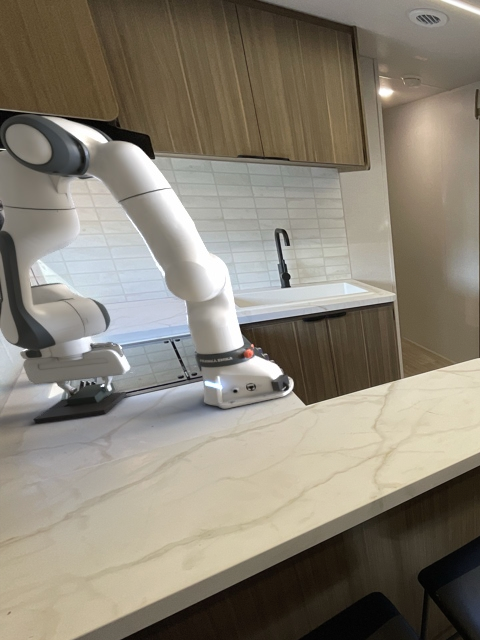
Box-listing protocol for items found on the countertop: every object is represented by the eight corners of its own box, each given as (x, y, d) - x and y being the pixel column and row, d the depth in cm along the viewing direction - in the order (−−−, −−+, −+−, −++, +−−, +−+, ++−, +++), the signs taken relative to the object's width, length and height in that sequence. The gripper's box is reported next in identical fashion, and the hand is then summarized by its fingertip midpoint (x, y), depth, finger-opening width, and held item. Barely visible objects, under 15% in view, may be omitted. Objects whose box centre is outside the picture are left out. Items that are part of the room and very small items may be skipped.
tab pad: (115, 389, 117) (112, 382, 116) (97, 404, 108) (94, 396, 108) (89, 393, 115) (85, 385, 114) (69, 407, 107) (65, 399, 106)
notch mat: (126, 395, 115) (125, 391, 114) (105, 413, 104) (103, 409, 104) (63, 403, 110) (62, 399, 110) (35, 423, 100) (33, 419, 99)
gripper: (124, 337, 112) (141, 383, 117) (27, 346, 105) (50, 394, 111) (113, 344, 106) (132, 391, 112) (10, 354, 100) (35, 403, 105)
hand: (90, 393), depth 111 cm, fingers closed on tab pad, 6 cm apart
